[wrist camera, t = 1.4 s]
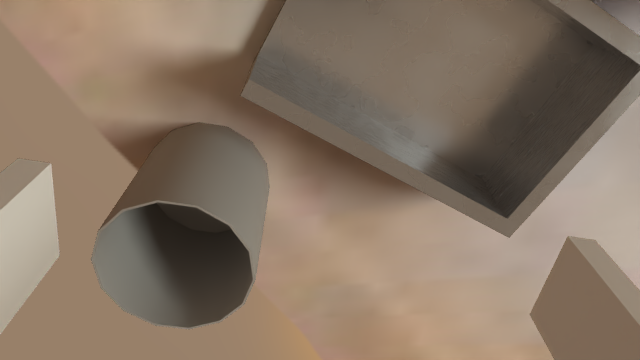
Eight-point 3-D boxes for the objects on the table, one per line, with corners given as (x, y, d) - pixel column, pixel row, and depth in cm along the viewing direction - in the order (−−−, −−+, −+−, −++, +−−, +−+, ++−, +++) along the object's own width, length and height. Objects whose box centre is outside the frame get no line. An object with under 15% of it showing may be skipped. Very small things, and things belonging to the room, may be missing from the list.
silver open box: (252, 64, 31) (240, 95, 25) (360, -143, 26) (372, -158, 20) (479, 189, 35) (509, 237, 30) (608, 34, 30) (672, 59, 25)
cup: (166, 104, 32) (111, 177, 23) (286, 148, 33) (276, 232, 25) (137, 207, 35) (79, 304, 27) (246, 242, 37) (225, 345, 28)
